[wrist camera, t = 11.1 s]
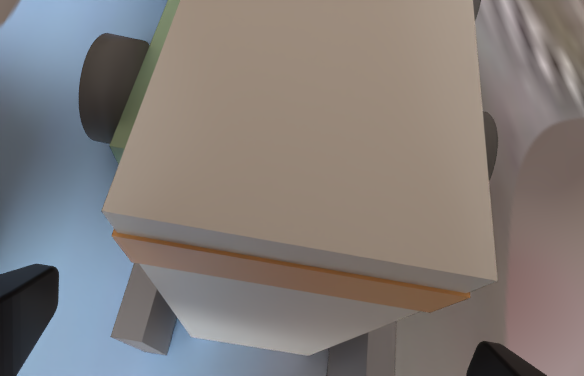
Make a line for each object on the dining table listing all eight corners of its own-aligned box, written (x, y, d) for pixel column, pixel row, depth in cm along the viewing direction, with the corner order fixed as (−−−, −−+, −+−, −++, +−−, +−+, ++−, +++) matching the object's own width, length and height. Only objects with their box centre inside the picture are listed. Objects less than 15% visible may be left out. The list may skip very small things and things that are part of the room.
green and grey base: (450, 401, 16) (538, 406, 11) (30, 333, 15) (-54, 310, 10) (440, 12, 26) (484, -68, 21) (183, -46, 25) (174, -142, 20)
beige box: (309, 357, 16) (502, 285, 5) (189, 338, 16) (95, 214, 4) (322, 233, 18) (474, -13, 7) (218, 214, 18) (203, -73, 7)
